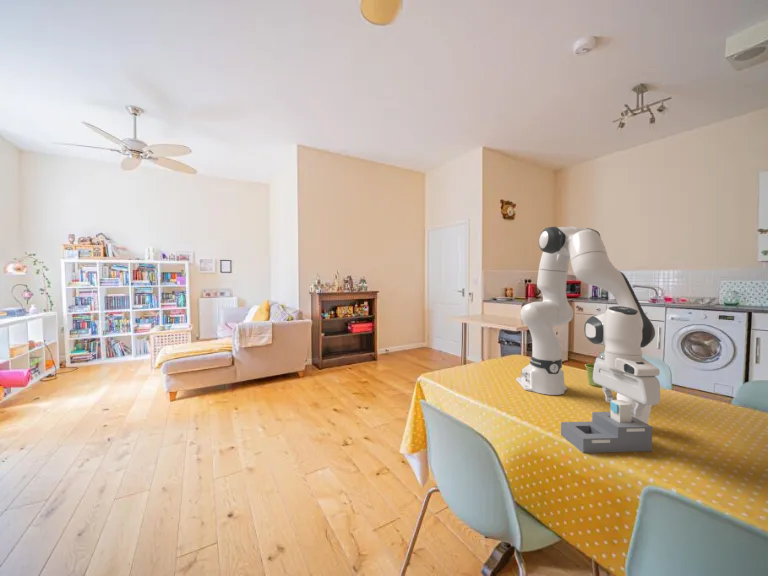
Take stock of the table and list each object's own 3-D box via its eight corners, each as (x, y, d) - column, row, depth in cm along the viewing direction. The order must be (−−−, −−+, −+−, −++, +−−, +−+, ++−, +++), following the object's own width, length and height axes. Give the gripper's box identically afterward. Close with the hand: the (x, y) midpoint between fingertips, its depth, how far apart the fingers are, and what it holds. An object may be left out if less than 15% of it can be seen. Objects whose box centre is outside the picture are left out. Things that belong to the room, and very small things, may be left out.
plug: (608, 429, 93) (609, 400, 93) (621, 429, 93) (621, 399, 93) (617, 435, 90) (618, 404, 90) (631, 435, 90) (631, 404, 90)
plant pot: (580, 381, 147) (580, 363, 147) (600, 381, 146) (600, 363, 146) (592, 388, 138) (592, 369, 137) (614, 388, 137) (614, 369, 137)
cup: (616, 418, 108) (617, 384, 107) (650, 426, 102) (651, 390, 102) (615, 427, 101) (616, 391, 100) (651, 436, 95) (652, 398, 95)
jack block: (560, 434, 96) (561, 412, 96) (622, 433, 97) (623, 411, 97) (583, 453, 86) (584, 428, 86) (652, 451, 87) (652, 426, 87)
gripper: (587, 354, 101) (587, 396, 101) (642, 371, 81) (642, 424, 81) (605, 353, 102) (605, 395, 102) (665, 371, 81) (665, 423, 81)
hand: (622, 408), depth 91 cm, fingers open, 8 cm apart
